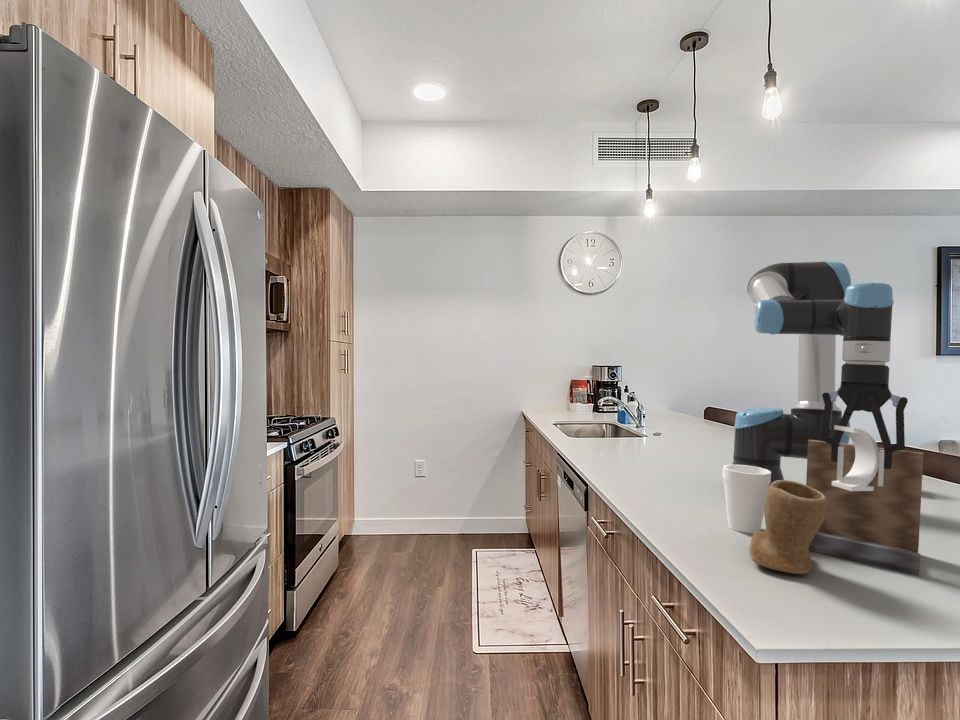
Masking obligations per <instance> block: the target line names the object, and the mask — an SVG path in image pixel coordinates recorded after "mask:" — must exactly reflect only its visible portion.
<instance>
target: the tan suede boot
mask: <svg viewBox="0 0 960 720" xmlns="http://www.w3.org/2000/svg"><path fill="white" fill-rule="evenodd" d="M826 509H827V498H826V497H825V495H824V494H822V493H821V492H820V491H818V490H816V489H813V488H812V487H809V486H807V485H806V484H804V483H802V482H801V483H800V482H797V481H793V480H787V479H784V480H777V481H774V482H773V483H771V485H770V486H769V488H768V491H767V495H766V501H765V507H764V514H763V516H764V522H765V530H760V531H758V532H755V533H752V536H751V539H750V545H749V548H748V549H749V551H748V552H749V557H750V559H751V561H752V562H754V563H755V564H757V565H759V566H760V567H764V568H767V569H770V570H773V571H777V572H782V573H787V574H797V575H805V574H808V573H809V572H810V569H811V568H812V557H811V554H810V551H809V550H808V548H809V546H810V544H811V542H812V540H813V538H814V536H815V534H816V533H817V531H818V529H819V528H820V526H821V524H822V523H823V521H824V518H825V515H826Z"/></svg>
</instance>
